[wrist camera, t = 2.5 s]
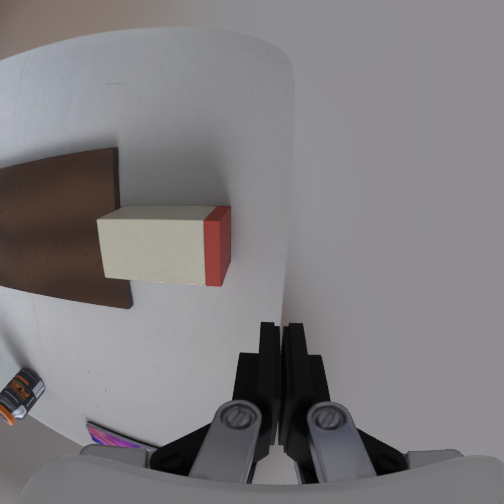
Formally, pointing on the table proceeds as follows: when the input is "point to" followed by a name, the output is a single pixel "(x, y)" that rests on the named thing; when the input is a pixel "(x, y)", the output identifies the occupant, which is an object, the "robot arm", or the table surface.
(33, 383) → the pill bottle
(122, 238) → the container
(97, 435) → the smartphone
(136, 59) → the table surface
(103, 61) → the table surface
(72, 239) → the board
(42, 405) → the table surface
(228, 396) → the table surface
